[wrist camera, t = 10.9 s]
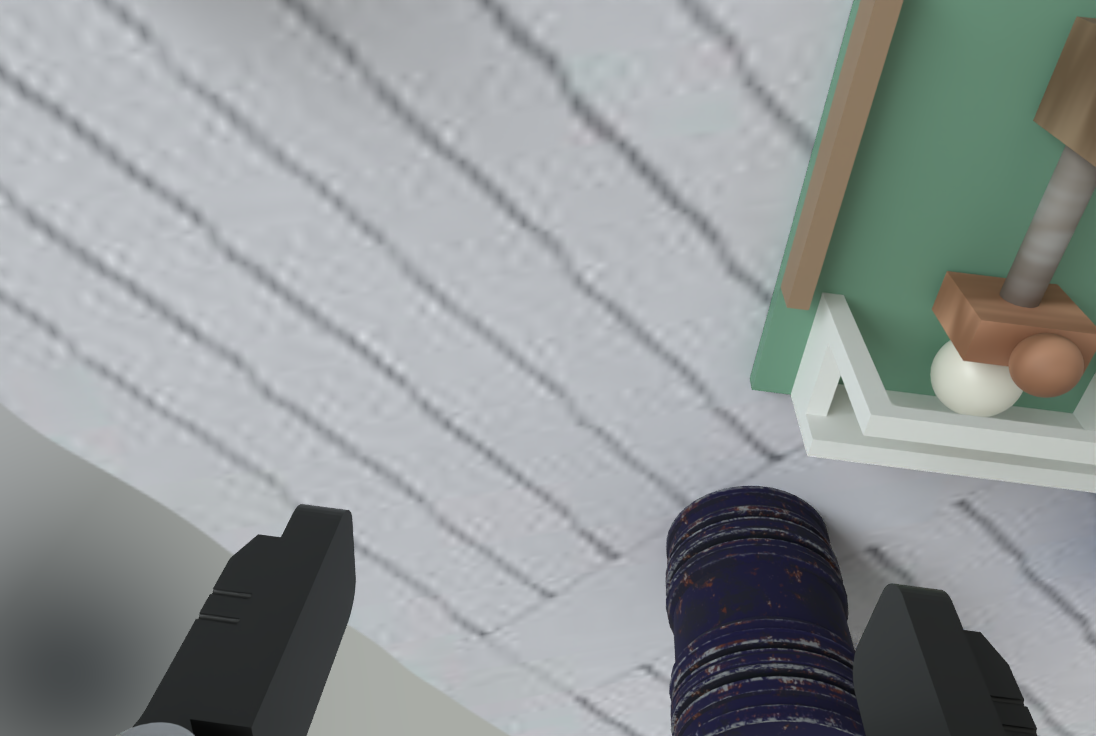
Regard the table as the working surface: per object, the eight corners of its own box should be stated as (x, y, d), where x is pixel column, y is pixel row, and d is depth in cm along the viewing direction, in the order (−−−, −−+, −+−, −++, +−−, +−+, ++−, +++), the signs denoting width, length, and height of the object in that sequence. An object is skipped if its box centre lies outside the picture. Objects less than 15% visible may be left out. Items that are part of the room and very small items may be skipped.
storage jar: (856, 502, 47) (934, 743, 35) (798, 613, 53) (848, 856, 40) (687, 470, 47) (705, 700, 35) (646, 584, 53) (649, 819, 40)
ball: (922, 428, 39) (910, 360, 41) (1007, 438, 39) (991, 370, 41) (961, 379, 36) (946, 309, 38) (1054, 391, 36) (1033, 320, 38)
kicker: (1050, 13, 31) (1146, 56, 25) (1182, 28, 31) (1309, 75, 25) (929, 314, 39) (981, 402, 33) (1036, 327, 39) (1108, 418, 33)
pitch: (864, -40, 32) (952, 11, 23) (1357, 15, 32) (1640, 89, 23) (749, 379, 43) (779, 522, 34) (1113, 424, 43) (1240, 583, 34)
